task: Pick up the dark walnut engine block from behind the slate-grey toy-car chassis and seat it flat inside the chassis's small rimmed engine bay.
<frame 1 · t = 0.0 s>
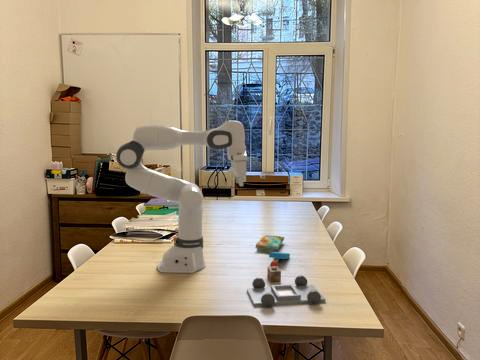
hand: (239, 184, 198), 39 cm above the table, tool pointing down, fingers open, 8 cm apart
lever: (278, 263, 207), on the table
puzzle game: (270, 247, 232), on the table
chassis: (285, 296, 167), on the table
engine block: (273, 279, 185), on the table
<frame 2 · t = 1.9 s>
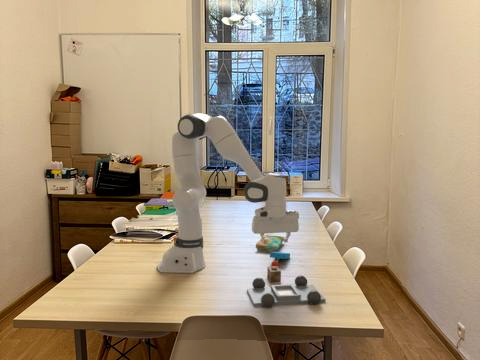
hand: (275, 242, 182), 17 cm above the table, tool pointing down, fingers open, 8 cm apart
nothing on the table moved.
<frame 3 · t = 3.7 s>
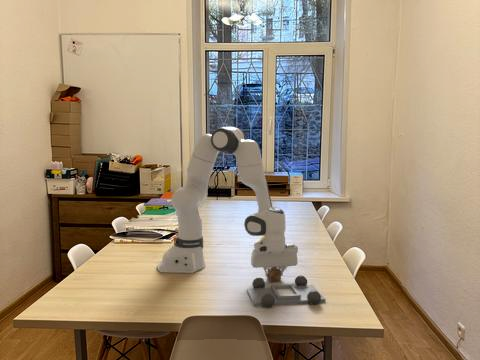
hand: (273, 275, 184), 2 cm above the table, tool pointing down, fingers closed on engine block, 4 cm apart
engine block: (273, 279, 184), on the table, touching gripper
everything else where it was.
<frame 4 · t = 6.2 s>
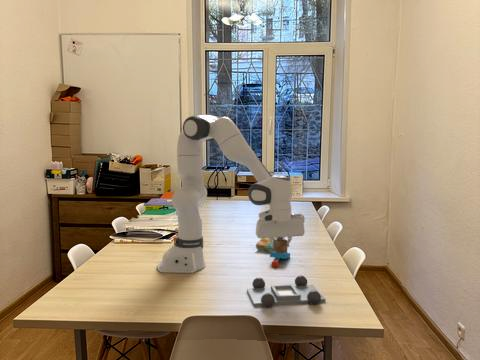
hand: (280, 247, 176), 17 cm above the table, tool pointing down, fingers closed on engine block, 4 cm apart
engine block: (280, 251, 176), point 15 cm above the table, touching gripper
everything else where it was.
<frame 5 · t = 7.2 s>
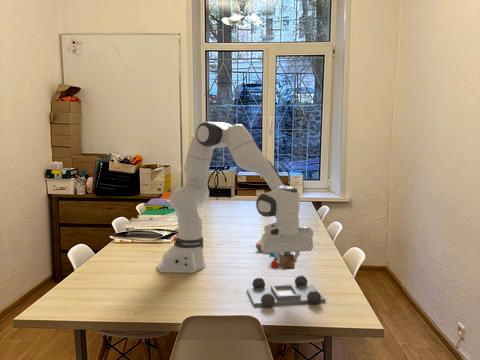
hand: (286, 262, 165), 14 cm above the table, tool pointing down, fingers closed on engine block, 4 cm apart
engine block: (286, 266, 165), point 12 cm above the table, touching gripper
everything else where it was.
when the fingers open (4 cm above the table, at t = 8.9 s): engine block drops 1 cm, resting on chassis.
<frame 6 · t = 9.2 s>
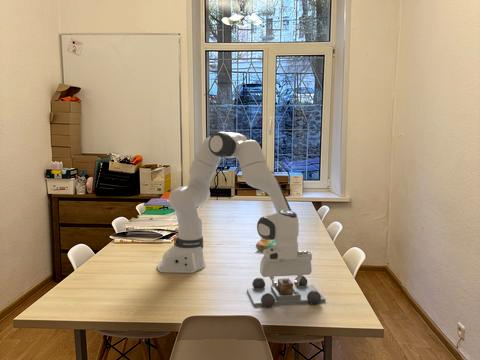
hand: (285, 285, 166), 4 cm above the table, tool pointing down, fingers open, 8 cm apart
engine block: (285, 293, 167), point 1 cm above the table, touching chassis
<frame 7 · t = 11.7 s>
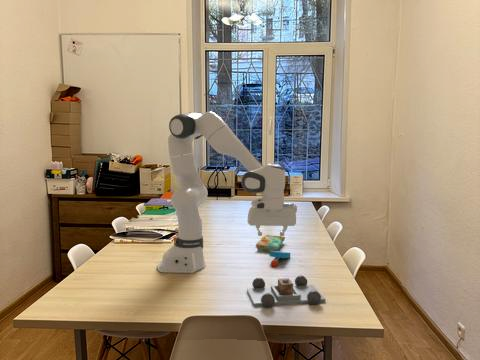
hand: (270, 235, 176), 21 cm above the table, tool pointing down, fingers open, 8 cm apart
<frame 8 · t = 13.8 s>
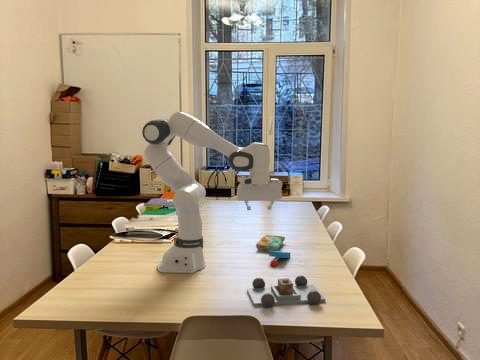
hand: (259, 209, 189), 29 cm above the table, tool pointing down, fingers open, 8 cm apart
at the end: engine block 0.0 cm off-centre on the chassis, point 1.3 cm above the chassis's base; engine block tilted 0°; the gripper is holding nothing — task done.
